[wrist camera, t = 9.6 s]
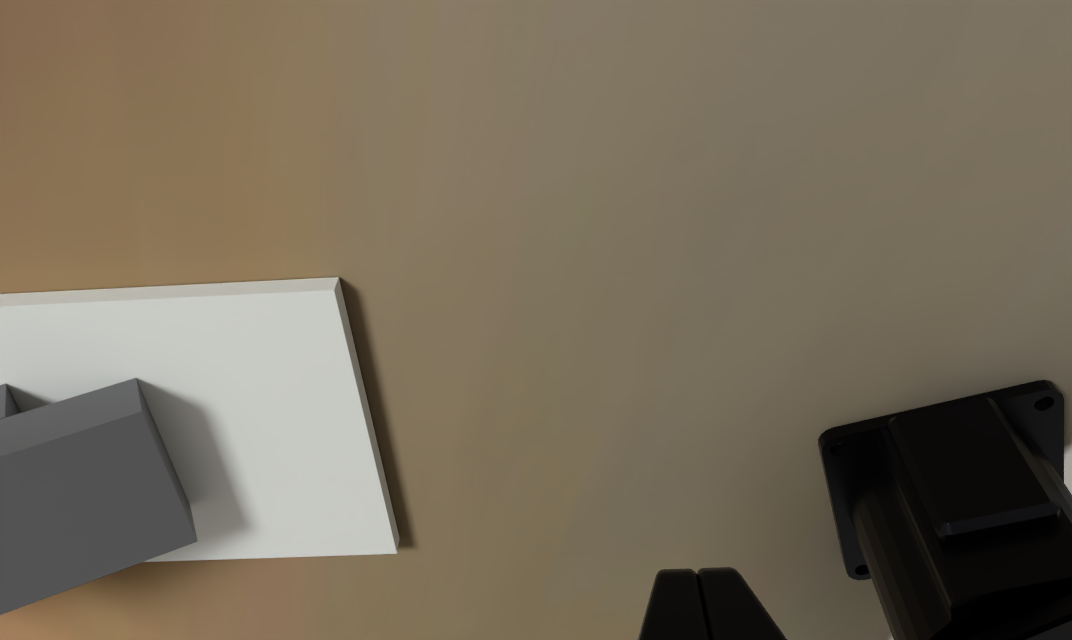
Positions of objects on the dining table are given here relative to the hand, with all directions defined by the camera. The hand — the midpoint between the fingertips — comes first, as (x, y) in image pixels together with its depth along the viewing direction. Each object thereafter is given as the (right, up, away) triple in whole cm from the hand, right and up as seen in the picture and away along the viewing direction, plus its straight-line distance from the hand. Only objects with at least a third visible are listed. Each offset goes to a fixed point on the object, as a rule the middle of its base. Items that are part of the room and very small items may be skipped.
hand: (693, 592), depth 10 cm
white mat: (-16, 0, +17) cm, 23 cm away
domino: (-12, -1, +15) cm, 20 cm away
